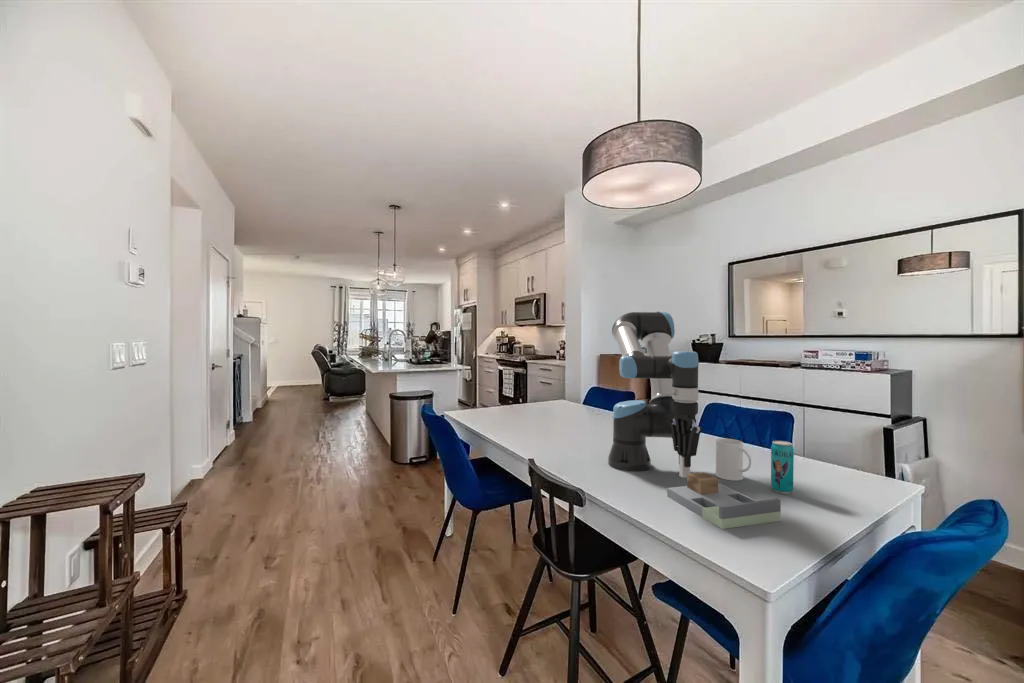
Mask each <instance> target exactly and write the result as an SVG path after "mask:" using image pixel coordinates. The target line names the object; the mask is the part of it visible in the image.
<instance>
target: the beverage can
mask: <svg viewBox="0 0 1024 683" xmlns="http://www.w3.org/2000/svg"><path fill="white" fill-rule="evenodd" d="M794 451H795V450H794V447H793V443H791V442H790V441H786V440H773V441H772V444H771V446H770V485H771V488H772V490H773V492H775V493H777V494H780V495H790V494H791V493H792V491H793V489H794V463H795V462H794V457H795V456H794V454H795V452H794Z"/></svg>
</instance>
